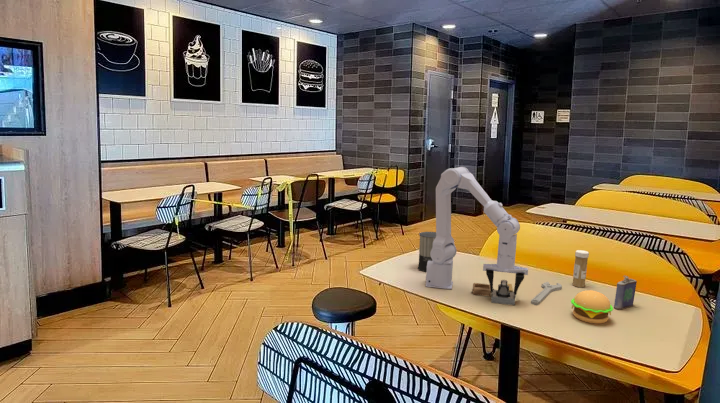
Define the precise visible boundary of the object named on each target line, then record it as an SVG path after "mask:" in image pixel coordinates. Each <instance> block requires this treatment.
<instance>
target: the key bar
mask: <svg viewBox="0 0 720 403" xmlns="http://www.w3.org/2000/svg"><path fill="white" fill-rule="evenodd" d="M507 285H508V286H509V292H513V291H514V288H513V284H512V283H507Z"/></svg>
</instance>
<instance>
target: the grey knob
mask: <svg viewBox="0 0 720 403" xmlns="http://www.w3.org/2000/svg"><path fill="white" fill-rule="evenodd" d="M507 284H508V280H507V279H500V284H498V286H497V290H498V295H497V296H503V297H508V296H509V286H508V285H507Z"/></svg>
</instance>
